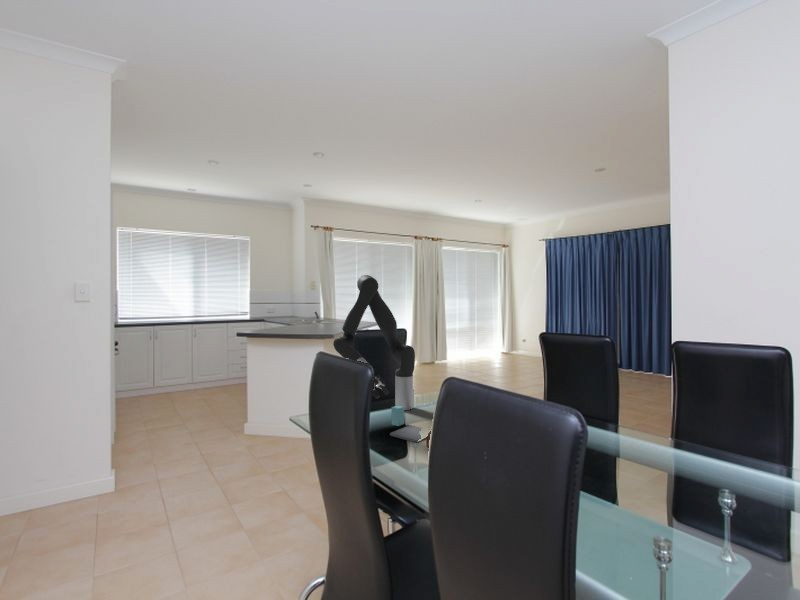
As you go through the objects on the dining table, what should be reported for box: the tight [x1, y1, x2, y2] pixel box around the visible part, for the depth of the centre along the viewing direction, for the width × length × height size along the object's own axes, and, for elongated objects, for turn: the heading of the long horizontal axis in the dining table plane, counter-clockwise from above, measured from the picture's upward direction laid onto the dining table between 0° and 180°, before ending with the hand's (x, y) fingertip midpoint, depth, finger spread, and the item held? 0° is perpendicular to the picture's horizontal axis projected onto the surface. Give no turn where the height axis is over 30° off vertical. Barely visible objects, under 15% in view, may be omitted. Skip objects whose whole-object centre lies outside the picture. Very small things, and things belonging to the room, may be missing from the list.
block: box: [391, 405, 405, 427], centre depth 190 cm, size 4×4×8 cm
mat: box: [389, 424, 423, 442], centre depth 176 cm, size 14×14×1 cm
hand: (383, 395), depth 194 cm, fingers open, 8 cm apart
